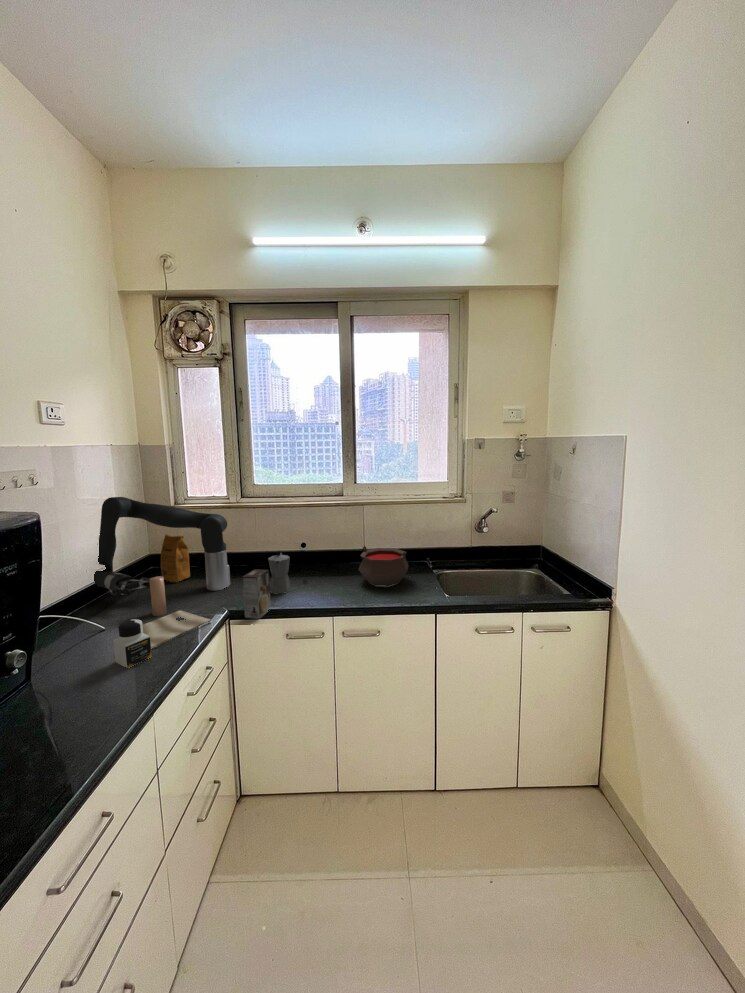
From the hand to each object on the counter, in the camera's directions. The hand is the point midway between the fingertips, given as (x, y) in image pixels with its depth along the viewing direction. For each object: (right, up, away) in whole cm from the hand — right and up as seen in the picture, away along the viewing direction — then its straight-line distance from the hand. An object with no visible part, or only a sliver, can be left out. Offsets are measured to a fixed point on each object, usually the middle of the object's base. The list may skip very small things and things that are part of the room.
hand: (141, 589), depth 156 cm
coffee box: (+48, -8, -6) cm, 49 cm away
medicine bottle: (+20, -13, -38) cm, 45 cm away
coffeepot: (+51, -5, +19) cm, 55 cm away
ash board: (+20, -10, -19) cm, 29 cm away
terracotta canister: (+10, -8, -5) cm, 14 cm away
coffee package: (-4, -4, +35) cm, 36 cm away
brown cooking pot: (+97, -3, +27) cm, 101 cm away
